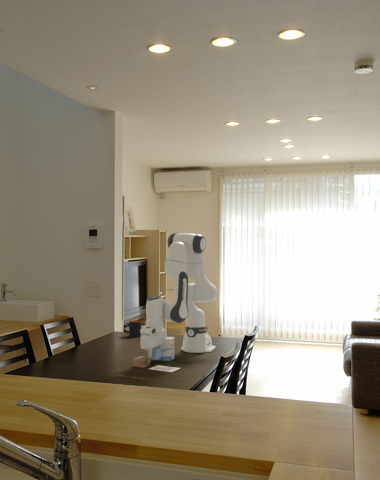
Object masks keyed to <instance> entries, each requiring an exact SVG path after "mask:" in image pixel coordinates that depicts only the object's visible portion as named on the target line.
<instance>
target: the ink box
mask: <svg viewBox="0 0 380 480" xmlns="http://www.w3.org/2000/svg"><path fill="white" fill-rule="evenodd" d="M155 348H157V346H156V347H155ZM174 359H175V336H167V338H165V339H164V343H163V344H162V345H161V358H160V359H157V360H156V361H161V362H162V361H163V362H171V361H172V360H174Z"/></svg>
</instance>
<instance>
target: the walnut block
mask: <svg viewBox="0 0 380 480" xmlns="http://www.w3.org/2000/svg"><path fill="white" fill-rule="evenodd" d="M132 362H133V364H132V366H133V367H136V368H146V367H149V366H151V359H150V357H148V356H142V355H141V356H140V355H139V356H136V357H134V358H133V361H132Z"/></svg>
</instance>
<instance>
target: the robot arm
mask: <svg viewBox="0 0 380 480" xmlns="http://www.w3.org/2000/svg"><path fill="white" fill-rule="evenodd" d="M206 246H207V240H206V237H204V235H202V234H199V233H190V232H183V233H182V232H174V233H172V234H170V235H169V236H168V238H167V247H168V251H167V253H166V258H165V263H164V272H165V274H166V276H167V277H168V278H170V279H171V280H172V281H174V283H175V285H176V286H175V287H174V290H173V296H174V298H175V302H173V301H168V300H166V299H164V298H163V297H162V296H161V295H151V296H150V297H148V298H147V299H146V305H145V316H146V321H145V324H144V326H143V327H141V330H140V333H141V337H139V338H140V342H139V343H140V348H141V350H145V351H146V350H147V354H148V353H149V357H152V356H153V353H152V348H153V347H156V346H157V348H161V345H162V344H163V343H164V339H165V338H167V337H168V333H167V330H166V327H165V325H164V320H166V321H170V322H174V323H177V324H181V323H183V322H185V327H184V328H185V331H184V332H185V333H184V335H183V338H182V346H181V348H180V350H182V352H186V353H195V354H197V353H198V354H199V353H201V354H202V353H210V352H212V351H214V350H215V349H216V348H217V347H216V346H215V345H213V344H212V343H213V342H212V341H213V340H212V337H211V336H210V335H209V334H208V332H207V330H208V329H209V326H208V325H206V314H205V311H204V310H203V309H201V308H199V307H197V305H196V303H211V302H215V301H216V300H217V298H218V296H219V295H218V294H219V291H218V288H217V287H216V285H215V284H213V283H212V282H211V281H210V280H209V279H208V277H207V274H206V269H205V257H204V256H205V255H204V251H205V249H206ZM189 279H191V280H193V281H194V283H192V282H191V283H189Z"/></svg>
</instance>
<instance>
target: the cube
mask: <svg viewBox="0 0 380 480" xmlns="http://www.w3.org/2000/svg"><path fill="white" fill-rule="evenodd" d="M152 353H153V356H152V357H150V360H154V361H158V360H157V359H160V358H161V348H155V347H153V348H152ZM147 357H149V353H148V352H147Z"/></svg>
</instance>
